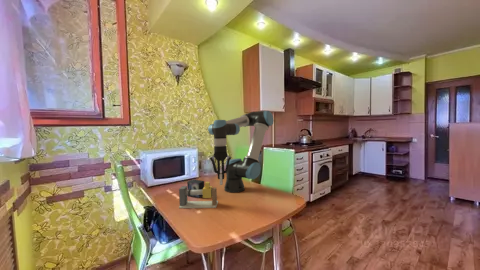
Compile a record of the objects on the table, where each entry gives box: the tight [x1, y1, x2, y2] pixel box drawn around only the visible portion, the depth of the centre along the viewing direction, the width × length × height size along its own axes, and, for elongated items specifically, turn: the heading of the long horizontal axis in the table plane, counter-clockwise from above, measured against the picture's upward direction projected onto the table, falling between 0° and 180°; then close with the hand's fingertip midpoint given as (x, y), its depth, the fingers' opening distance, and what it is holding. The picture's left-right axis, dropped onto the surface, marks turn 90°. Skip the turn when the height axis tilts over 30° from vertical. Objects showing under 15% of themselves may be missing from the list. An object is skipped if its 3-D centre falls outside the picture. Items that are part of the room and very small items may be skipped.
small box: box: [186, 179, 205, 199], centre depth 141 cm, size 11×6×10 cm, turn 62°
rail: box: [178, 185, 219, 209], centre depth 124 cm, size 22×9×11 cm, turn 88°
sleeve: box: [202, 181, 213, 199], centre depth 123 cm, size 5×5×9 cm
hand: (221, 184), depth 123 cm, fingers closed
